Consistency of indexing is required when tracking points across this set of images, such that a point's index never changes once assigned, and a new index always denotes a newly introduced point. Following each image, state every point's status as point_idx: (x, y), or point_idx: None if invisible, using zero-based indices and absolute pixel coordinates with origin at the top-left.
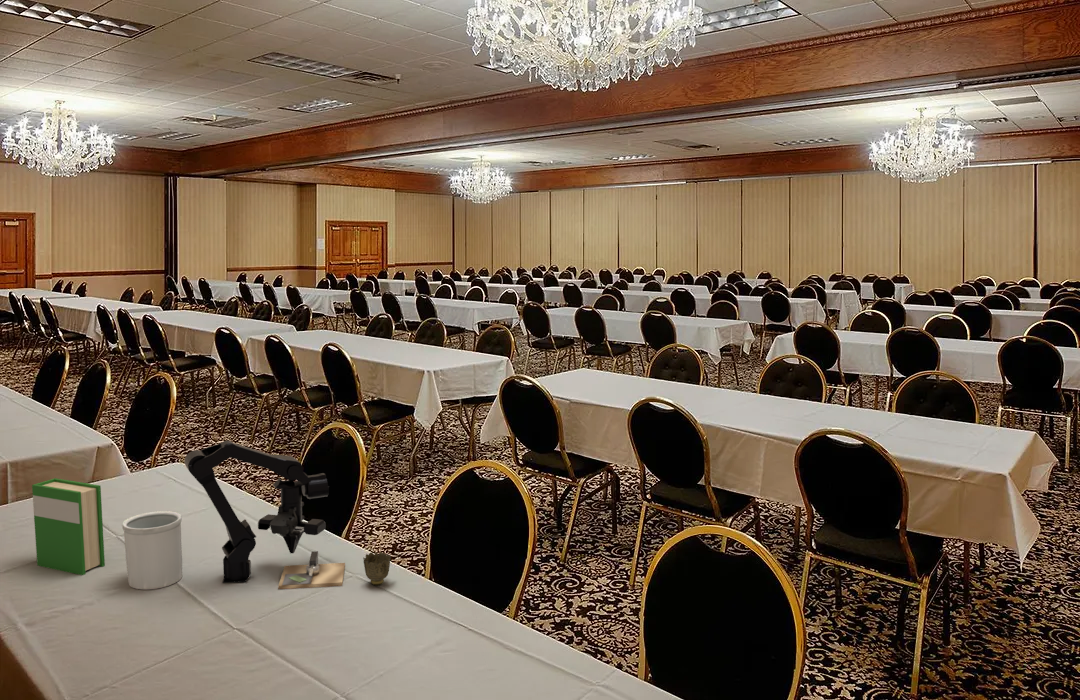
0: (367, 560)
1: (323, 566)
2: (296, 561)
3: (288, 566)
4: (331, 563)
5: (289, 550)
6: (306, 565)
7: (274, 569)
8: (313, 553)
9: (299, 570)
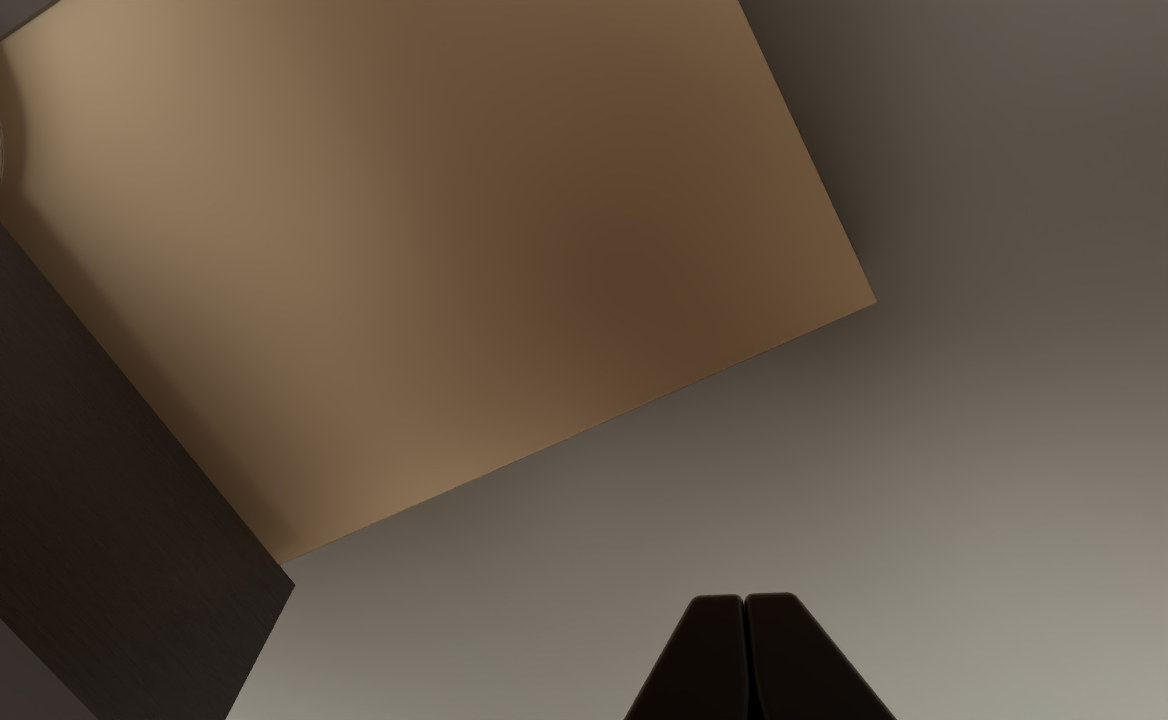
0: None
1: None
2: None
3: (754, 290)
4: None
5: (816, 644)
6: (381, 471)
7: (1120, 164)
8: (16, 713)
9: (319, 163)
